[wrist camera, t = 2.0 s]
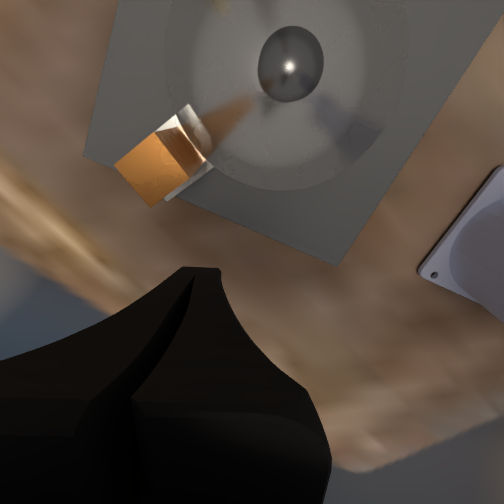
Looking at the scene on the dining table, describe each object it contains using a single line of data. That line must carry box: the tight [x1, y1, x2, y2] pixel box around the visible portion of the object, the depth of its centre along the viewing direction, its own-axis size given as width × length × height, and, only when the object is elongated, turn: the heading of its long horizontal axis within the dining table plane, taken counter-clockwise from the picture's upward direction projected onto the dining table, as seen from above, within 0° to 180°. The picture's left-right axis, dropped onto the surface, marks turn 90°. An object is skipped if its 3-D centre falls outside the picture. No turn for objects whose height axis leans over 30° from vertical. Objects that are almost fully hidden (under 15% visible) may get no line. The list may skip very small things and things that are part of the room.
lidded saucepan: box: [114, 0, 409, 208], centre depth 13 cm, size 14×11×5 cm
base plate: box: [83, 0, 504, 267], centre depth 15 cm, size 16×16×3 cm
